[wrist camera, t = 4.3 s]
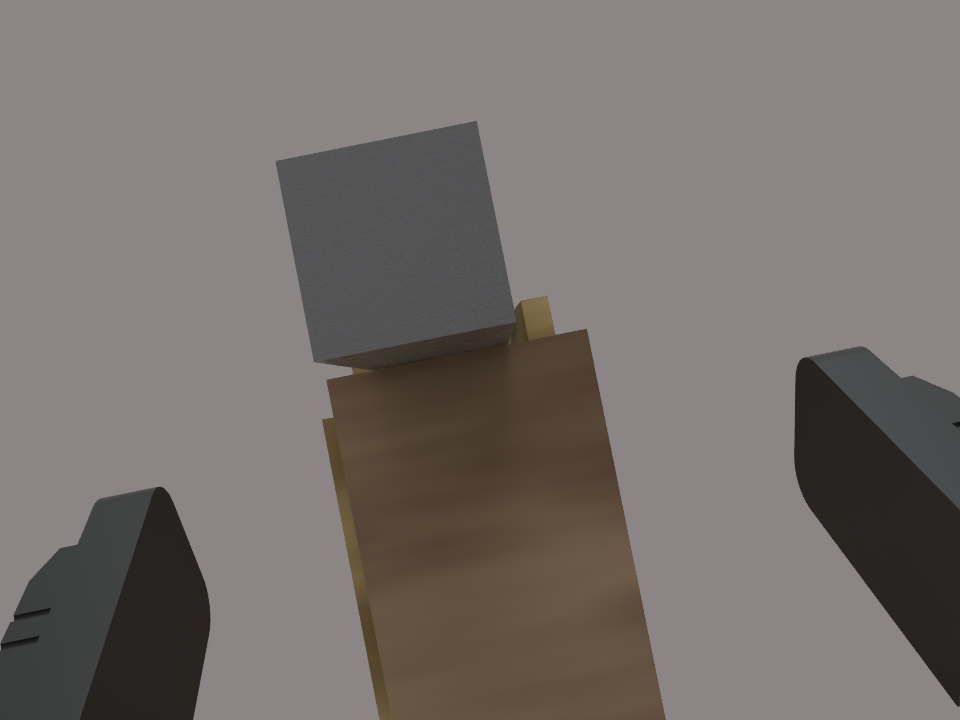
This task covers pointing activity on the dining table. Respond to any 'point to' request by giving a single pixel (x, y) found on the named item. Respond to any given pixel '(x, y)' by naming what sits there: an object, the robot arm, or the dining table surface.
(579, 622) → the brown patterned paper bag
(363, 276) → the dark grey bar
